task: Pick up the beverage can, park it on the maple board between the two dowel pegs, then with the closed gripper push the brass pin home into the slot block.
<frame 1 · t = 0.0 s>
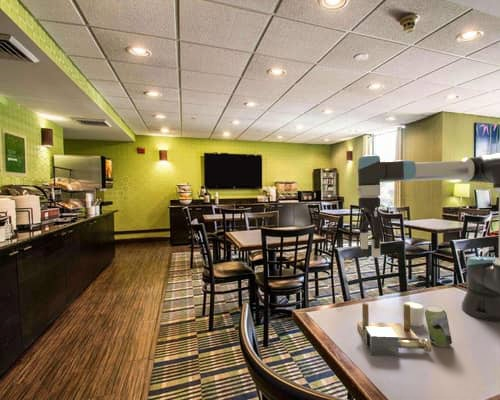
hand: (369, 252, 100), 28 cm above the table, fingers open, 13 cm apart
slot block: (381, 350, 85), on the table
pin: (410, 344, 84), point 2 cm above the table, slide at 0.0 cm
peg stand: (386, 334, 94), on the table
beige tapered cylinder: (414, 323, 102), on the table
beverage can: (438, 343, 88), on the table
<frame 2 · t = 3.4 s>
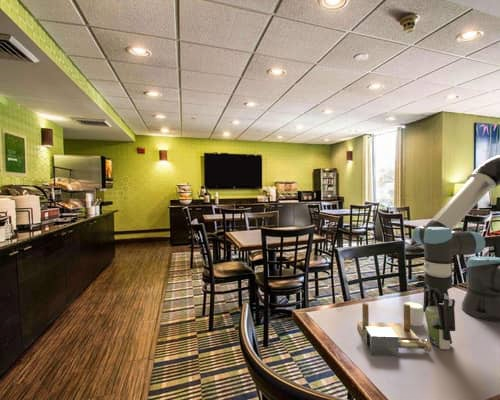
hand: (438, 341, 88), 0 cm above the table, fingers closed on beverage can, 6 cm apart
beverage can: (438, 343, 88), on the table, touching gripper
everything else where it was.
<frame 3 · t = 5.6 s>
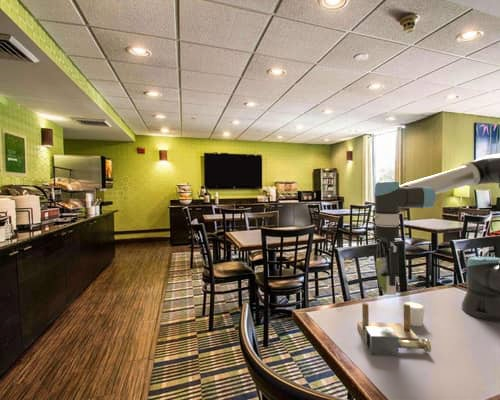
hand: (387, 290, 93), 16 cm above the table, fingers closed on beverage can, 6 cm apart
beverage can: (386, 292, 93), point 16 cm above the table, touching gripper
everything else where it was.
when the fingers open (4 cm above the table, at t = 8.2 s): beverage can drops 2 cm, resting on peg stand.
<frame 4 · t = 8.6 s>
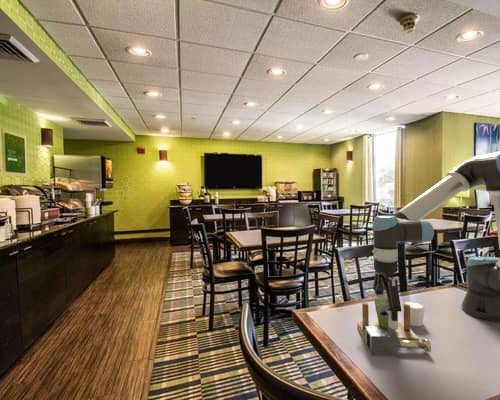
hand: (386, 319, 94), 5 cm above the table, fingers open, 12 cm apart
beverage can: (386, 329, 94), point 2 cm above the table, touching peg stand
everything else where it was.
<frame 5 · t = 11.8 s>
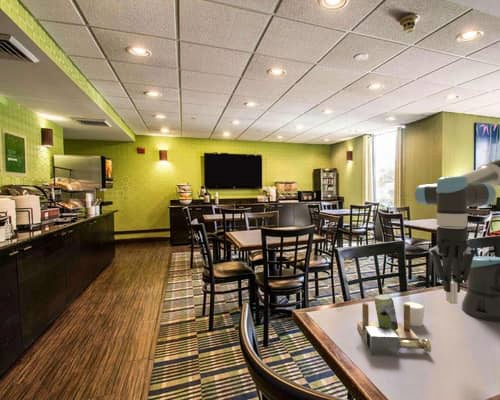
hand: (451, 302, 82), 16 cm above the table, fingers closed
nothing on the table moved.
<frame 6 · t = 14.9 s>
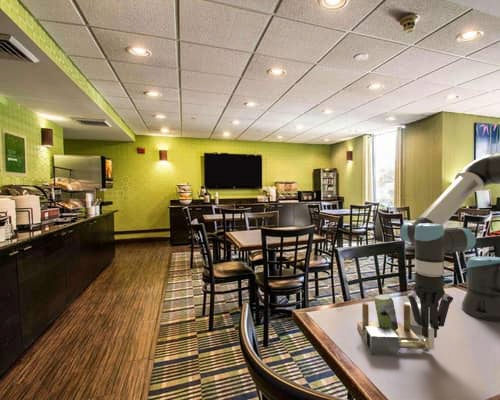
hand: (429, 346, 83), 2 cm above the table, fingers closed
pin: (408, 344, 84), point 2 cm above the table, slide at 0.4 cm, touching gripper
everything else where it was.
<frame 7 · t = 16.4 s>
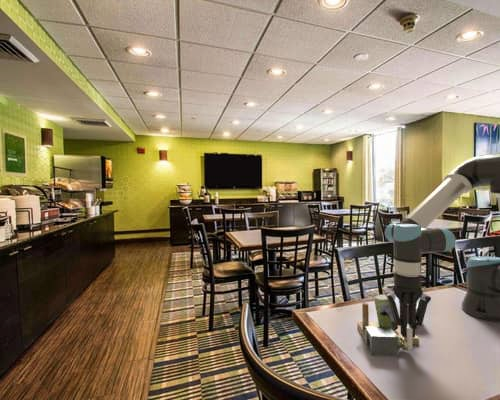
hand: (407, 346, 84), 2 cm above the table, fingers closed
pin: (388, 343, 84), point 2 cm above the table, slide at 6.7 cm, touching gripper
everything else where it was.
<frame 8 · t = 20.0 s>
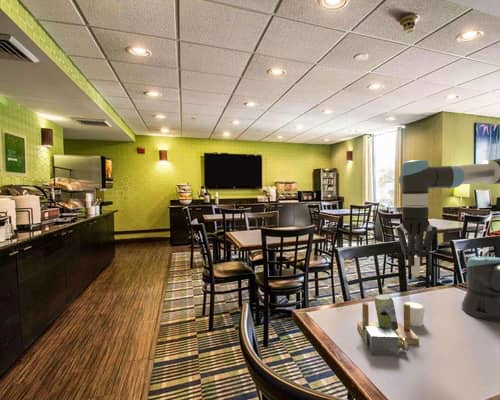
hand: (415, 275, 90), 22 cm above the table, fingers closed
pin: (388, 343, 84), point 2 cm above the table, slide at 6.7 cm
everything else where it was.
at the end: beverage can inside the target area on the peg stand (0.1 cm from its centre), point 1.8 cm above the peg stand's base; beverage can tilted 0°; pin slide at 6.7 cm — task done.
